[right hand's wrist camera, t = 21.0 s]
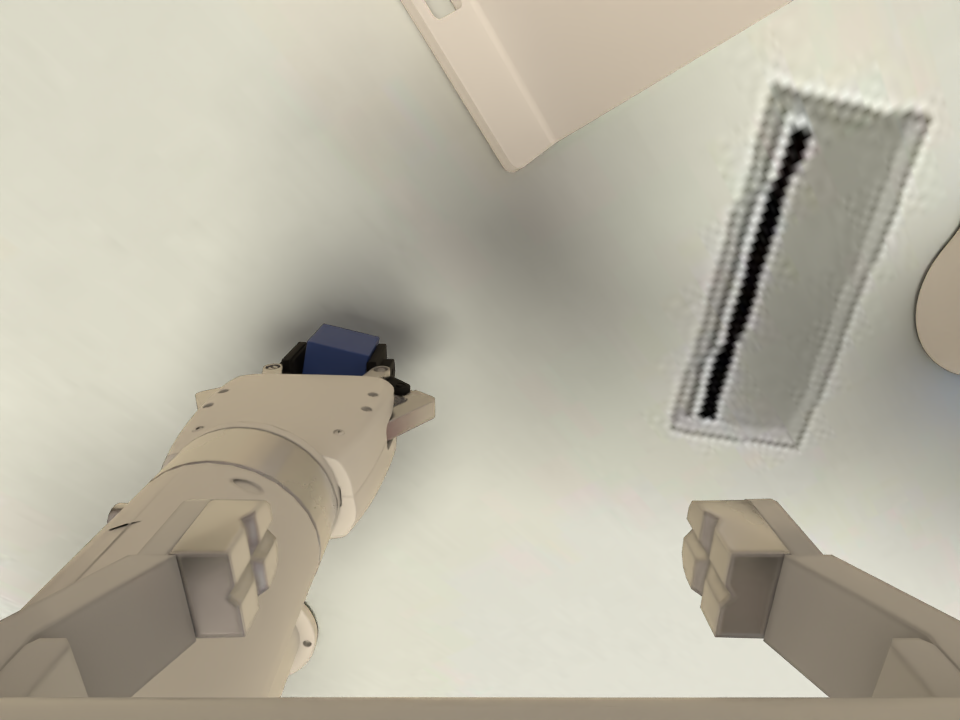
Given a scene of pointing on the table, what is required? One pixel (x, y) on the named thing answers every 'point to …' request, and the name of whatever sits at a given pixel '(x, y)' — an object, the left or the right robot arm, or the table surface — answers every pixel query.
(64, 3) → the table surface
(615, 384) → the table surface
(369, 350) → the block
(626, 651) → the table surface
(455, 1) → the tablet stand
